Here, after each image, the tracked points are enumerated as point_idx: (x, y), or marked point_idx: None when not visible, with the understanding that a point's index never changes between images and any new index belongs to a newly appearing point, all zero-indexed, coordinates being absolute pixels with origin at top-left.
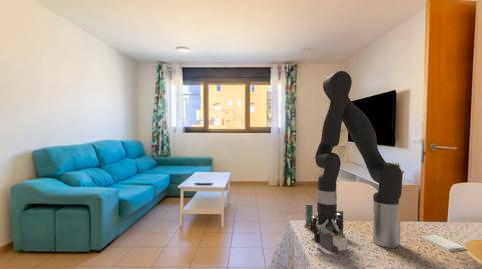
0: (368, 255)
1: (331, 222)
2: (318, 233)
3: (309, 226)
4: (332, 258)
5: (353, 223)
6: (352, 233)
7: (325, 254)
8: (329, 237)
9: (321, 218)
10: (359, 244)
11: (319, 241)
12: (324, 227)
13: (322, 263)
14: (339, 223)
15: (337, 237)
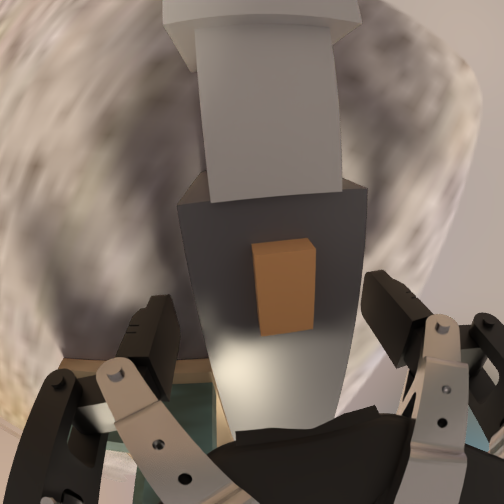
0: (42, 59)
1: (247, 498)
2: (437, 320)
3: None
4: (364, 61)
5: (18, 418)
6: (23, 368)
7: (379, 134)
8: (358, 227)
9: (502, 490)
10: (10, 239)
11: (378, 276)
12: (213, 444)
13: (449, 54)
14: (67, 442)
15: (281, 132)
